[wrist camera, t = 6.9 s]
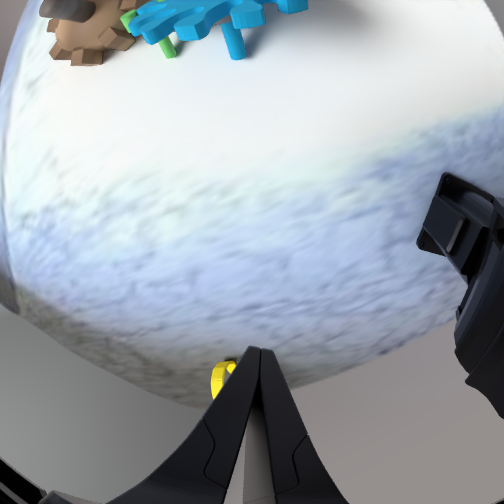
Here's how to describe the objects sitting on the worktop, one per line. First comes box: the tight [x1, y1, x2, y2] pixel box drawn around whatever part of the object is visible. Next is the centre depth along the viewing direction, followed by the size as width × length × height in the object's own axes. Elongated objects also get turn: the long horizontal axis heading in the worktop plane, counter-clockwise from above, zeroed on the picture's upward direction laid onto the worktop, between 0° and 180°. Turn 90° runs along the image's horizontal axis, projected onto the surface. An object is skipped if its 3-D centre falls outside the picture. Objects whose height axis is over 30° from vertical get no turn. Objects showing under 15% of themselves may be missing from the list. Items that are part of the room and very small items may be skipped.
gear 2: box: [120, 0, 308, 60], centre depth 11 cm, size 11×6×10 cm
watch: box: [211, 361, 236, 399], centre depth 27 cm, size 6×3×6 cm, turn 21°
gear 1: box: [39, 0, 151, 66], centre depth 9 cm, size 9×9×6 cm
